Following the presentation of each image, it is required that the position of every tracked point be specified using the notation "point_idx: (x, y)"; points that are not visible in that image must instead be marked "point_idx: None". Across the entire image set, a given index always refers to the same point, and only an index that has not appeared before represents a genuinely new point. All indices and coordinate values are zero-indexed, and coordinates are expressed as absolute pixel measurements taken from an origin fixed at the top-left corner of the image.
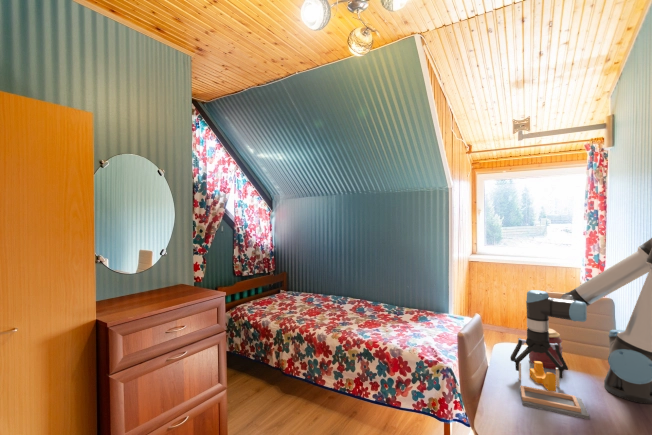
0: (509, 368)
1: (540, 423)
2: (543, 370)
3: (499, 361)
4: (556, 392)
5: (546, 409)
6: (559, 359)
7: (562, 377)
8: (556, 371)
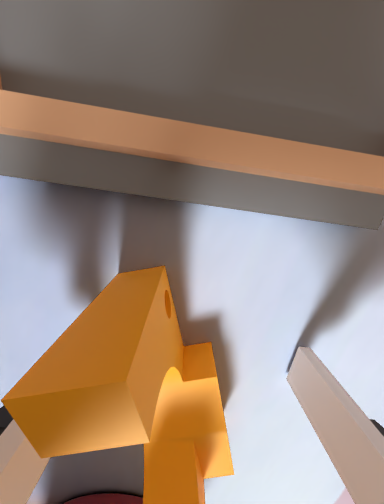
0: (301, 450)
1: None
2: (147, 474)
3: (320, 493)
4: (118, 137)
5: None
6: None
7: (1, 408)
8: (10, 493)
